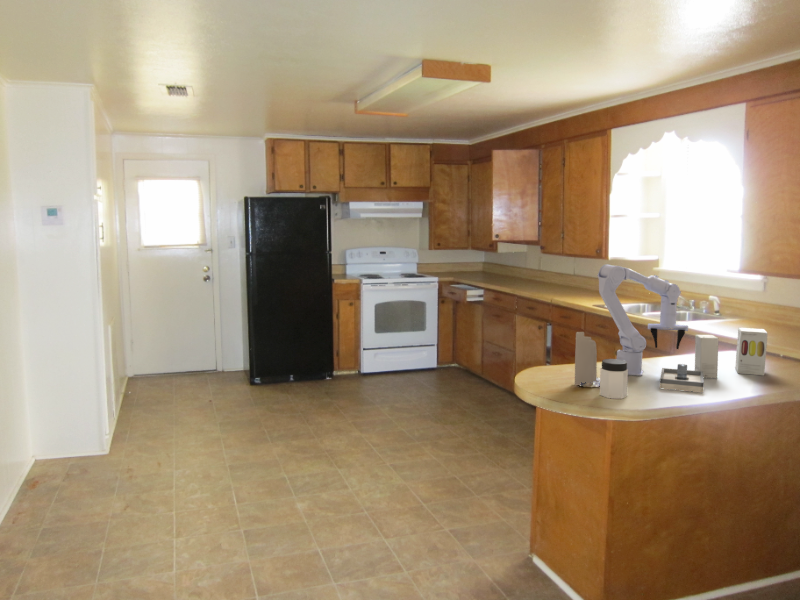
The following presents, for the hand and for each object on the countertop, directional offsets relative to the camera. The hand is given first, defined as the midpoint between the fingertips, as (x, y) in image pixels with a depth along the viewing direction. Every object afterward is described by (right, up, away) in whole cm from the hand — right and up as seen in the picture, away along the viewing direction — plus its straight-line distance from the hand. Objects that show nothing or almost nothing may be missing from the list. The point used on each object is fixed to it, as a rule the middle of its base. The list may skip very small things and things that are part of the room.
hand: (666, 348), depth 249 cm
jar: (-32, -14, -32) cm, 47 cm away
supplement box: (+32, -10, 0) cm, 34 cm away
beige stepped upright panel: (-34, -12, -18) cm, 41 cm away
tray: (-2, -12, -18) cm, 22 cm away
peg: (-2, -12, -18) cm, 21 cm away
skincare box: (+12, -10, -6) cm, 17 cm away
